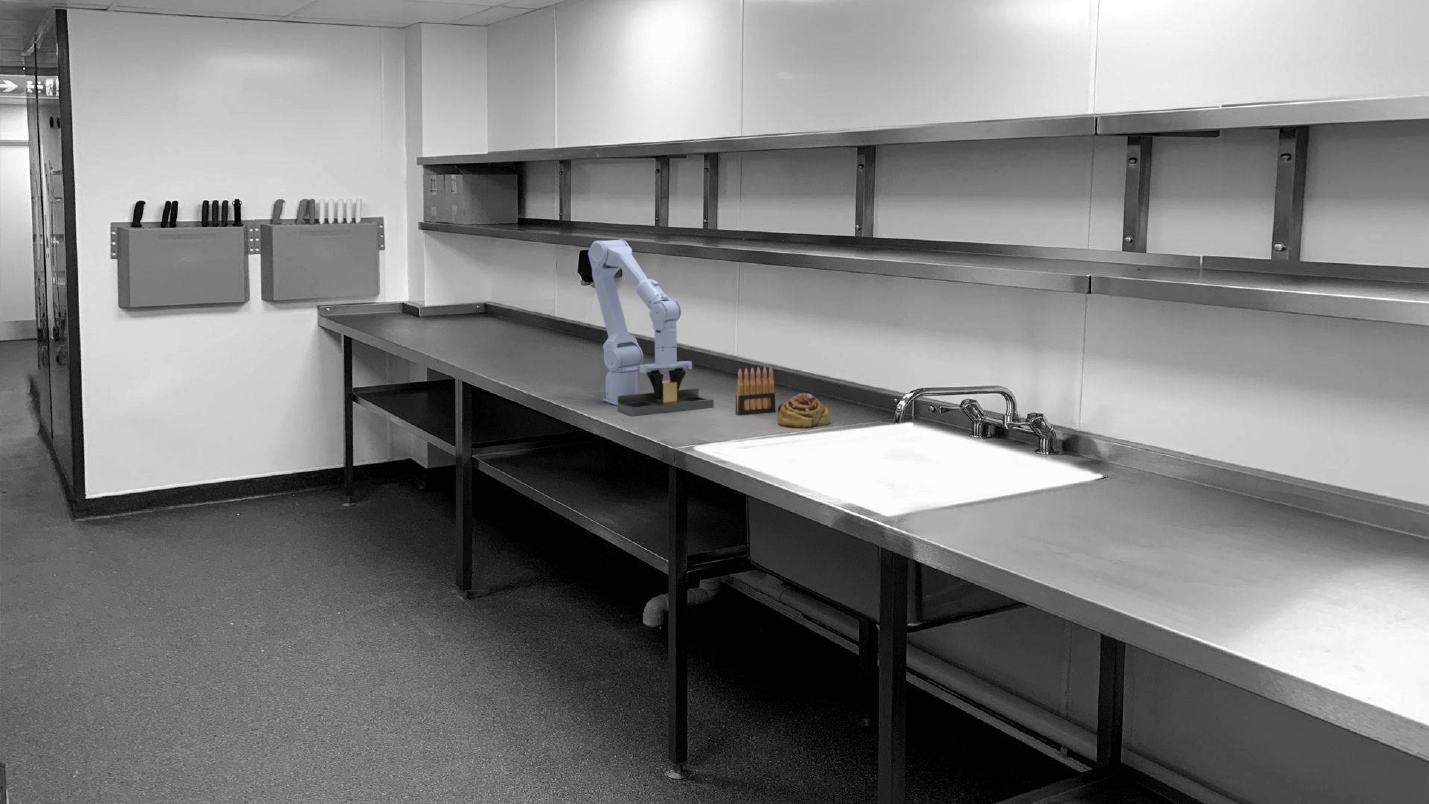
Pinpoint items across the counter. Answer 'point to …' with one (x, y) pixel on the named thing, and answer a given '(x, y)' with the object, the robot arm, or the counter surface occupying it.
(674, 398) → the brass peg
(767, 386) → the ammunition clip
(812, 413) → the pastry
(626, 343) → the robot arm
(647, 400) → the charcoal rail
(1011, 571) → the counter surface
